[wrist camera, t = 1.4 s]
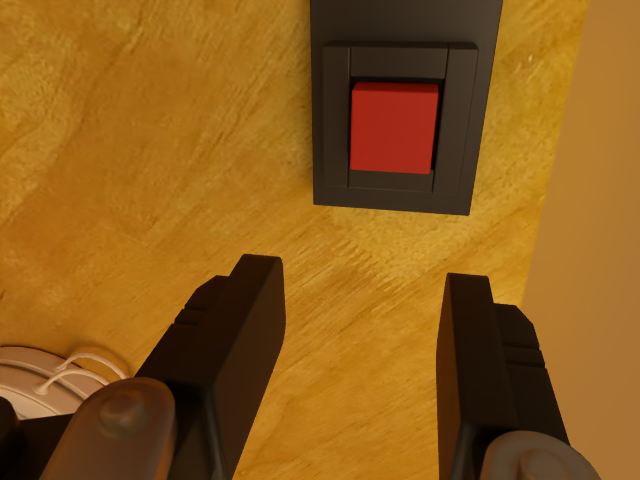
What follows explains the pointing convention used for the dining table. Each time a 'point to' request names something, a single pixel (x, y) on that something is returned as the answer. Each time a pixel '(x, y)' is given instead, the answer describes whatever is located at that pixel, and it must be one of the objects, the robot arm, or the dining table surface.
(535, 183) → the dining table surface
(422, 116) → the red button cap
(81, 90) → the dining table surface
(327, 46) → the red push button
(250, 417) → the robot arm
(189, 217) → the dining table surface
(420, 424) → the dining table surface
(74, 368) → the lotus flower trinket box
